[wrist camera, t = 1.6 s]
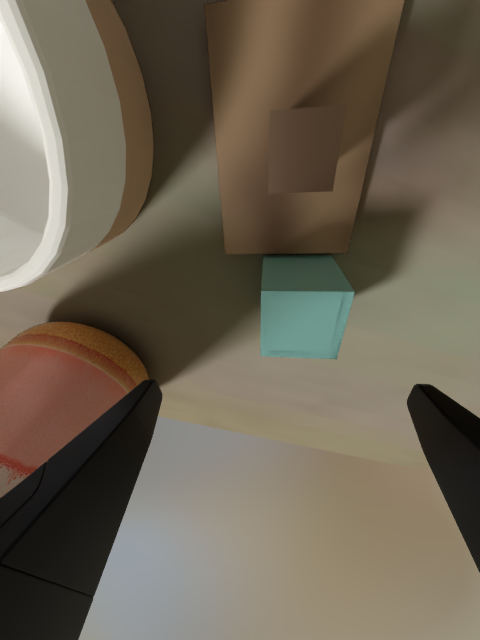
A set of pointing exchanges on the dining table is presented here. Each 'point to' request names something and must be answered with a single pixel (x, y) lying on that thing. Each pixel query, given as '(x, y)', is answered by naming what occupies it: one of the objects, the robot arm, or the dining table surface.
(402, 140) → the dining table surface
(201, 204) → the dining table surface
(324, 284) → the teal tilted box
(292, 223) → the post block
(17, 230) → the bowl
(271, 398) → the dining table surface
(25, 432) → the vase
